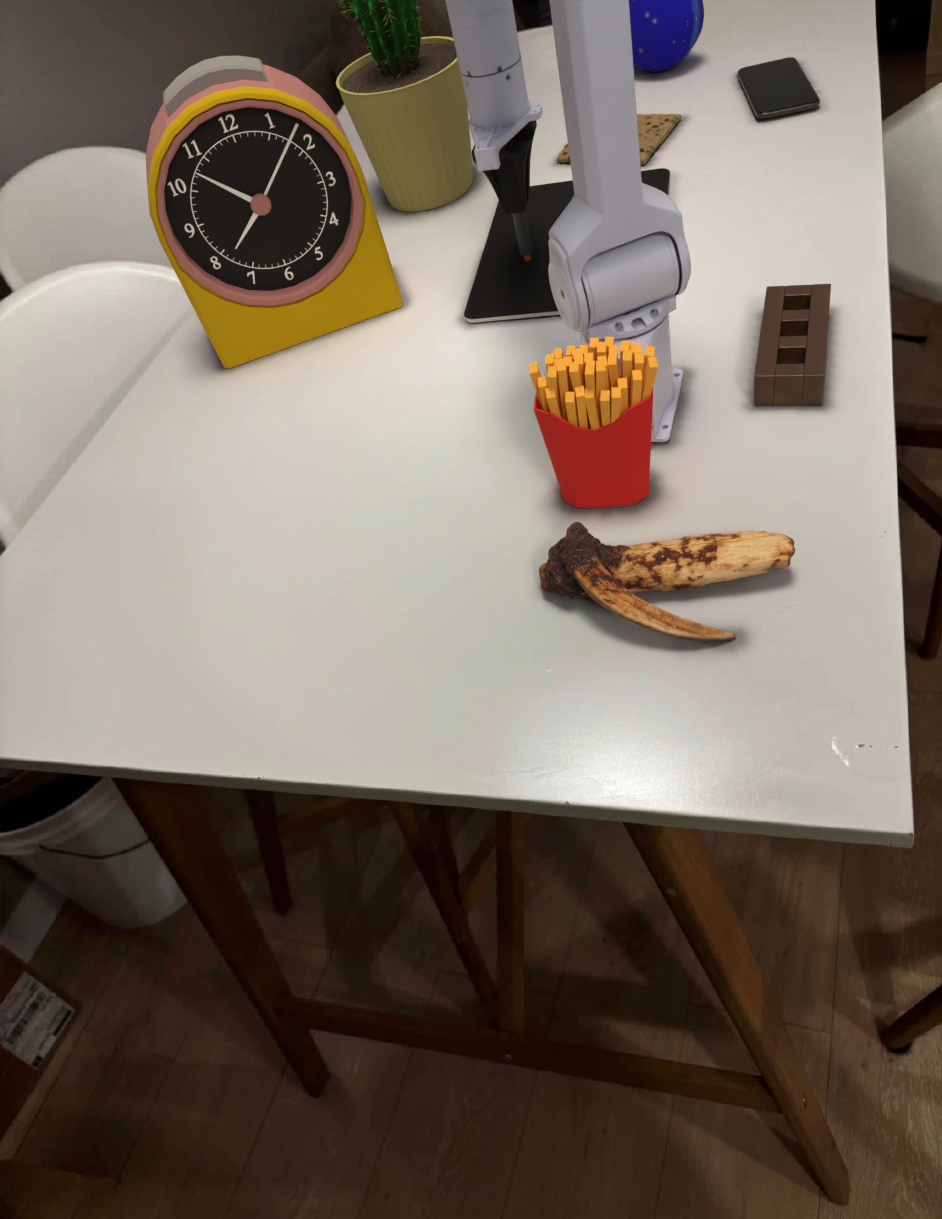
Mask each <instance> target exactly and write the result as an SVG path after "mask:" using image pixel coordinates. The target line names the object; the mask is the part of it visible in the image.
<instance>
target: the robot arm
mask: <svg viewBox="0 0 942 1219" xmlns="http://www.w3.org/2000/svg"><path fill="white" fill-rule="evenodd" d="M444 1H445V6H446V11H447V15H448V21H449V24H450V29H451V34H452V38H453V40H454V44H455V49H456V54H457V59H458V63H459V68H460V73H461V78H462V82H463V87H464V91H465V96H466V101H467V106H468V116H469V131H470V134H471V136H472V139H473V142H474V145H473V147H472V148H471V157H472V162H473V163H474V164H475V165H476V167H477V171H478V172H482V173H483V174H484V175H485V177H486V178H487V181H489V183H490V186H491V187H492V189H493V191H494V193H495V196H496V197H497V200H498V201H499V202H500V204H501V206H502V208H503V210H504V212H505V214H513V213H522V212H524V211H525V208H526V203H527V202H528V200H529V192H530V186H531V159H532V158H531V157H532V148H533V142H534V137H535V134H536V129H537V127H538V122H537V121H538V120H540V119H541V117H542V115H543V112H544V111H543V106H542V104H541V103H534V104H531V102H530V100H529V97H528V90H527V84H526V79H525V72H524V64H523V60H522V52H521V47H520V41H519V34H518V29H517V22H516V17H515V16H516V15H515V11H514V10H515V9H514V3H513V0H444ZM549 8H550V15H551V16H550V17H551V24H552V32H553V38H554V46H555V48H554V49H555V55H556V63H557V70H558V78H559V85H560V92H561V102H562V108H563V116H564V125H565V131H566V132H565V133H566V137H567V138H566V140H567V144H568V148H569V156H570V163H569V164H570V170H571V177H572V179H571V180H573V186H574V196H573V198H572V200H571V201H570V203H569V204H568V205H567V207H566V208H565V209H564V211H563V212H562V213H561V215H560V216H559V217H558V219H557V220H556V222H555V223H554V224H553V226H552V227H551V229H550V231H549V238H550V239H549V241H548V244H549V254H550V263H549V267H548V273H549V281H550V286H551V290H552V294H553V297H554V300H555V303H556V306H557V309H558V311H559V313H560V315H559V316H560V317H561V319H562V321H563V322H564V324H565V325H566V326H567V327H568V328H570V329H572V330H573V331H574V332H576V333H579V334H580V341H581V345H589V344H590V338H599V342H605V336H607V337H614V345H618V365H619V371H620V374H621V362H620V343H621V341H628V340H631V348H632V343H641V353H642V352H644V355H645V350H646V345H647V346H653V347H655V352H654V357H657V362H658V370H657V374H656V377H655V381H654V385H653V412H652V434H651V443H666V442H668V441H669V440H670V439H671V435H672V429H673V425H674V420H675V415H676V412H677V406H678V402H679V397H680V392H681V387H682V384H683V378H684V370H683V368H680V367H679V368H678V367H676V368H675V367H674V368H673V364H672V346H671V345H672V344H671V331H670V330H671V328H670V327H671V326H670V313H672V312H674V311H677V298H676V297H677V296H679V295H682V294H684V293H685V291H686V289H687V288H688V284H689V281H690V279H691V275H692V274H691V273H692V263H691V262H692V261H691V255H690V250H689V245H688V242H687V239H686V236H685V230H684V223H683V214H682V212H681V210H680V209H679V207H678V206H677V204H676V202H674V201H673V199H672V198H671V197H670V196H668V195H667V194H665V193H664V192H662V191H661V190H658V189H656V188H654V187H651V186H649V185H646V184H644V183H642V181H641V171H642V170H641V165H640V153H639V139H638V125H637V114H638V112H637V110H638V109H637V97H636V84H635V83H636V82H635V69H634V63H633V54H632V39H631V25H630V11H629V0H549Z"/></svg>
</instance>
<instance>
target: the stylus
mask: <svg viewBox="0 0 942 1219" xmlns="http://www.w3.org/2000/svg"><path fill="white" fill-rule="evenodd" d="M513 220H514V225H515V230H516V235H517V241H518V246H519V251H520V255H522V256H524V260H525V261H529V260H530V259H531V257H530V254H531V253H532V252H533V249H532V243H531V238H530V232H529V227H528V221H527V215H526V210H525V211H524V212H522V213H513Z"/></svg>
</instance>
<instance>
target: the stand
mask: <svg viewBox="0 0 942 1219" xmlns="http://www.w3.org/2000/svg"><path fill="white" fill-rule="evenodd" d="M831 293H832V283H814V284H793V285H768V286H766V290H765V296H764V303H763V310H762V318H761V325H760V332H759V339H758V347H757V354H756V359H755V367H754V374H753V406H823V401H824V392H825V381H826V368H827V352H828V339H829V337H828V336H829V324H830V323H829V322H830V320H829V319H830V309H831V308H830V307H831Z"/></svg>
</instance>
